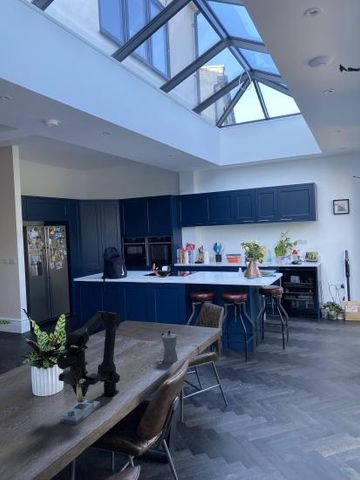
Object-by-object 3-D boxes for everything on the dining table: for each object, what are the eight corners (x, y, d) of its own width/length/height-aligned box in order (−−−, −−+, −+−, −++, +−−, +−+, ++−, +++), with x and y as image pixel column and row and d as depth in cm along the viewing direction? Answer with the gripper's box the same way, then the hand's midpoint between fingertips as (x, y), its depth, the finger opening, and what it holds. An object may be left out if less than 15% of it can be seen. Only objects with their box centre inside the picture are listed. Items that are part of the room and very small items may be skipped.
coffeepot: (182, 361, 225) (181, 331, 225) (169, 365, 220) (168, 334, 220) (169, 354, 238) (168, 326, 238) (156, 358, 233) (155, 329, 233)
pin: (79, 399, 167) (79, 381, 167) (86, 399, 166) (85, 382, 166) (75, 402, 164) (74, 384, 164) (81, 403, 163) (80, 384, 163)
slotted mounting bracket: (85, 403, 175) (85, 395, 175) (100, 405, 172) (100, 397, 172) (60, 421, 158) (60, 413, 158) (76, 424, 155) (75, 416, 155)
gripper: (49, 366, 161) (51, 402, 161) (85, 370, 154) (87, 407, 154) (65, 357, 171) (67, 391, 171) (100, 360, 164) (102, 395, 165)
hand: (80, 396), depth 165 cm, fingers closed on pin, 3 cm apart
